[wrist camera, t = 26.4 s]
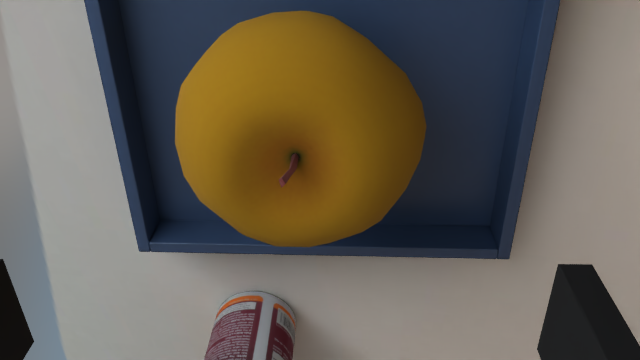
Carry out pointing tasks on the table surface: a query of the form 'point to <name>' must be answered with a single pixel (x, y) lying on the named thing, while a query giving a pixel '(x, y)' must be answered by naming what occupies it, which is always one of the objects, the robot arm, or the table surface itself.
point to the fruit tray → (399, 46)
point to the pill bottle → (252, 329)
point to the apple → (298, 129)
